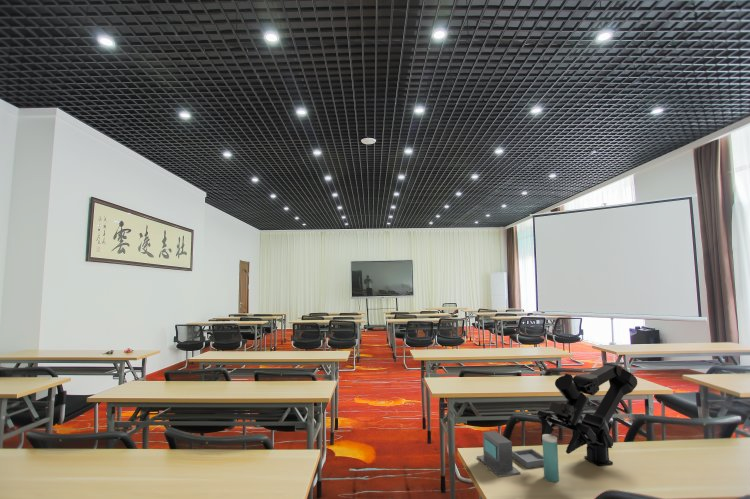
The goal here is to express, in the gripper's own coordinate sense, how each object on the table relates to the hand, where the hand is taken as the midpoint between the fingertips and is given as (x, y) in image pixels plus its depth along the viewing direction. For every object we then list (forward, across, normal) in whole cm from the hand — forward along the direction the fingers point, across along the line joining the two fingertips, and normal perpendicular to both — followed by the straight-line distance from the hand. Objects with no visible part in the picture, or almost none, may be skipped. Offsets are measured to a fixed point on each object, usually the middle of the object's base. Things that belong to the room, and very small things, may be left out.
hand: (554, 447), depth 121 cm
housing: (+14, -14, -1) cm, 20 cm away
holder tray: (+5, -12, +8) cm, 15 cm away
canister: (+8, 0, +5) cm, 9 cm away
